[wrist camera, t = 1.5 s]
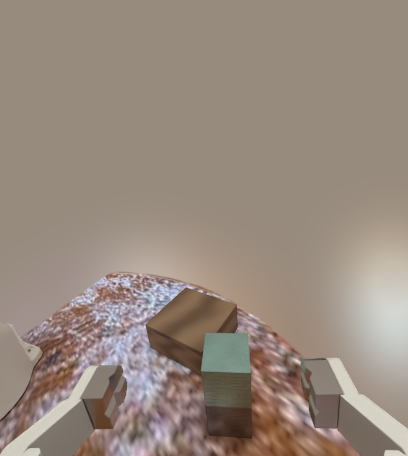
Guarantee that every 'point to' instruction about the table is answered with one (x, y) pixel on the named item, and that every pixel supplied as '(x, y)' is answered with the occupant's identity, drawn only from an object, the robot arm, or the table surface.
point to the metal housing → (227, 384)
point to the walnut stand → (190, 326)
